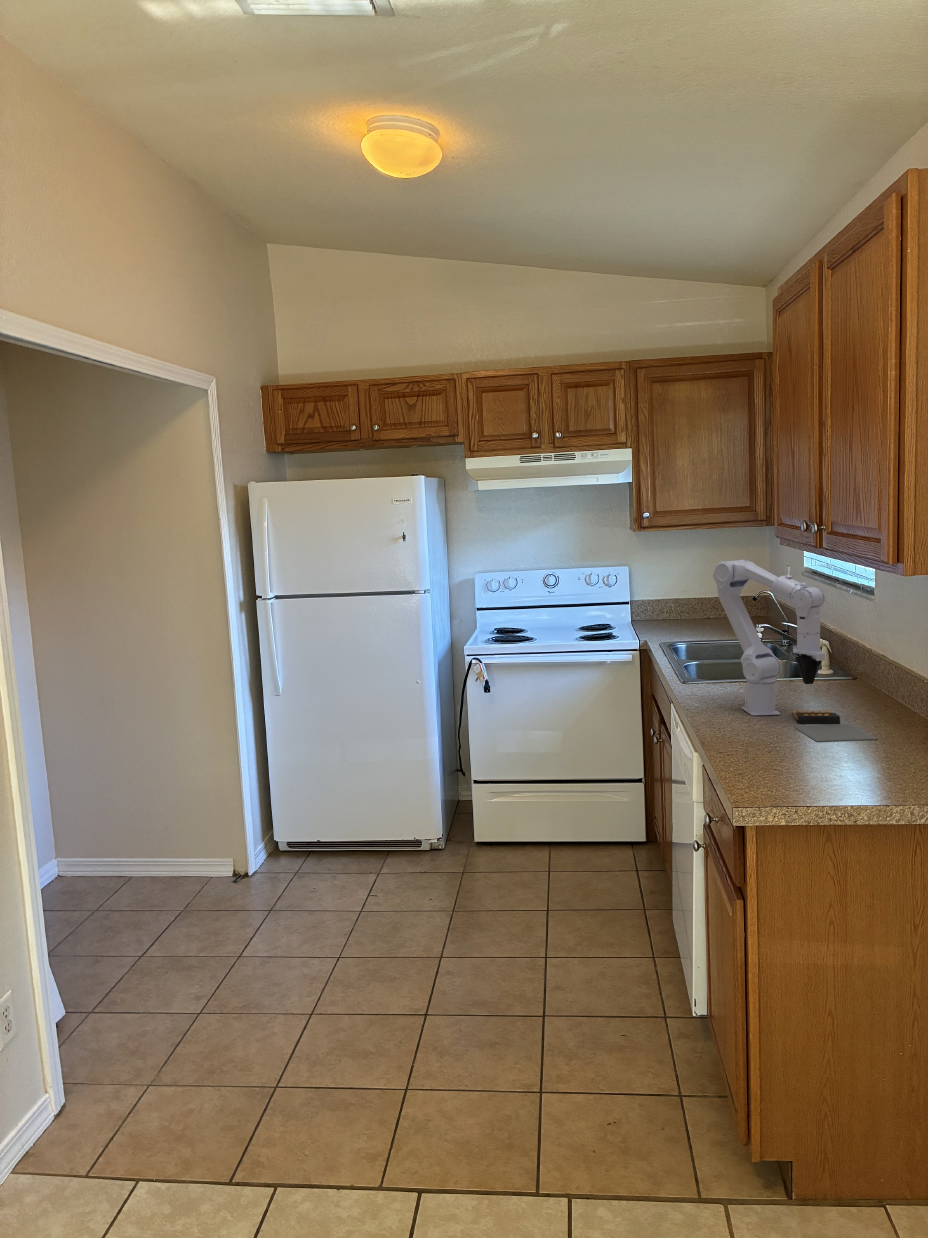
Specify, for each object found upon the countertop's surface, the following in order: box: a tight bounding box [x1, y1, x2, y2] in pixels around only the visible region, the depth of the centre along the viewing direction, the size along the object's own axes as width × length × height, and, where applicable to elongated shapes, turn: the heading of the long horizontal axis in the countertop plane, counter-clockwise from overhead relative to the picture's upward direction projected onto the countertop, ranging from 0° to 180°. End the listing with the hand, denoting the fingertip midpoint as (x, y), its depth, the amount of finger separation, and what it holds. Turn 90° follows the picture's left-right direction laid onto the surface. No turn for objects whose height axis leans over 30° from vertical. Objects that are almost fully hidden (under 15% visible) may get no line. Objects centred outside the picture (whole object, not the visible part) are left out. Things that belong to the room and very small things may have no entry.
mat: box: [793, 723, 878, 743], centre depth 235 cm, size 15×15×1 cm
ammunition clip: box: [791, 709, 841, 724], centre depth 251 cm, size 11×2×12 cm
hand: (808, 683), depth 247 cm, fingers closed
